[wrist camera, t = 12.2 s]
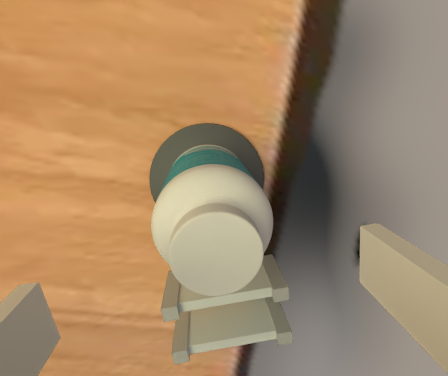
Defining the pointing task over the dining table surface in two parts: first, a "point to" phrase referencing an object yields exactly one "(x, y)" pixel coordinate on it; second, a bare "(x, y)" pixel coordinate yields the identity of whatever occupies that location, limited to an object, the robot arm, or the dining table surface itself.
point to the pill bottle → (212, 221)
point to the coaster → (202, 136)
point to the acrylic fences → (227, 314)
